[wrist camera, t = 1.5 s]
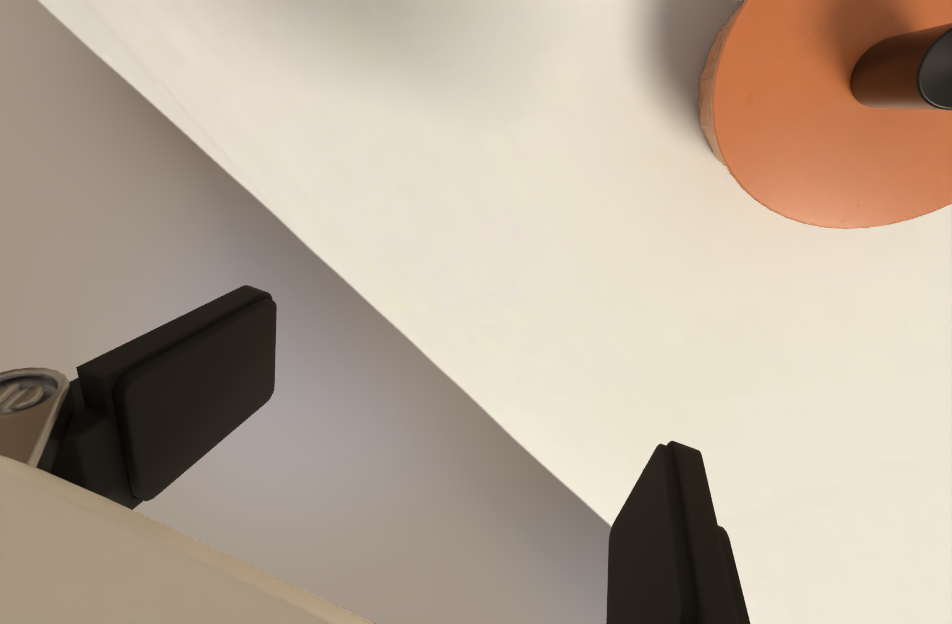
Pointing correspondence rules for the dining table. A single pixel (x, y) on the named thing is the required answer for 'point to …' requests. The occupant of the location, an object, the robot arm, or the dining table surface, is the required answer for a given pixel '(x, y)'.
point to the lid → (838, 108)
